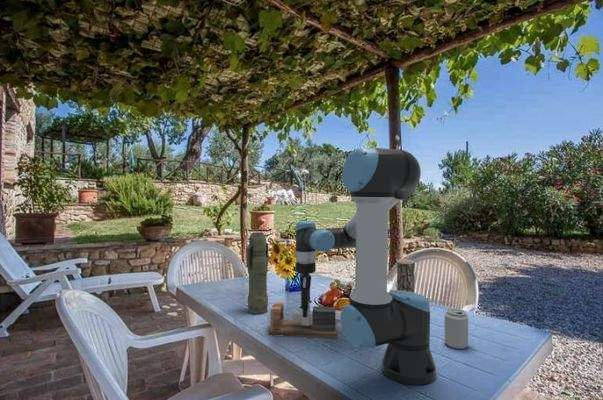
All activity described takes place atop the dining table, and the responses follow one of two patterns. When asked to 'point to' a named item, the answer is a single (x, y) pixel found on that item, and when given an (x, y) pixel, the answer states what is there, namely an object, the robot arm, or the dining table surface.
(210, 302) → the dining table surface
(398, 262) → the bark textured post
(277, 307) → the tube rig
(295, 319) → the pale green block
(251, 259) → the thermos
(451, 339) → the can
